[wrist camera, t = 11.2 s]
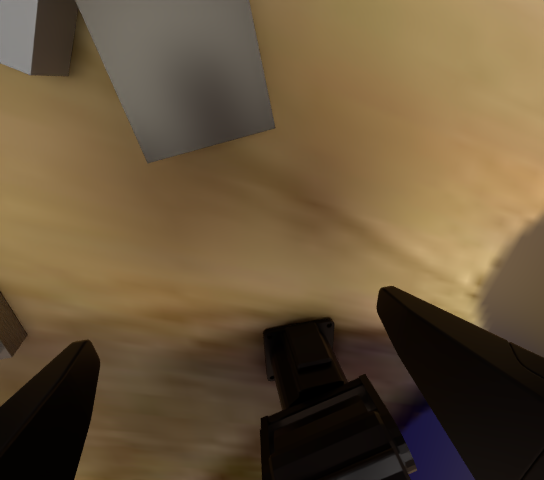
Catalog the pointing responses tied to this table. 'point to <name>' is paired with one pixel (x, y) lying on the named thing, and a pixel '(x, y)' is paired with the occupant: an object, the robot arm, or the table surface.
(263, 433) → the robot arm
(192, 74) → the loose grey block
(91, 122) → the table surface
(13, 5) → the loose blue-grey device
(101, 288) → the table surface
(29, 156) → the table surface
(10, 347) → the rail
